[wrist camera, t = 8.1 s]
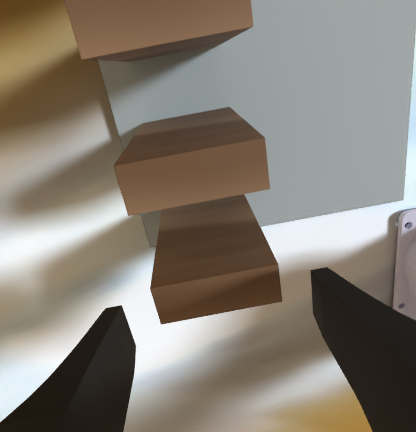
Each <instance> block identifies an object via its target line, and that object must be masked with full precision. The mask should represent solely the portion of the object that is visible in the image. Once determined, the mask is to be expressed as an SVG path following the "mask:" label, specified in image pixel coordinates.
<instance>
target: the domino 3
mask: <svg viewBox="0 0 416 432" xmlns="http://www.w3.org/2000/svg"><path fill="white" fill-rule="evenodd" d="M150 289H151V293H152V296H153V299H154V302H155V306H156V309H157V312H158V316H159V319H160V322H161V324H166V323H171V322H177V321H182V320H187V319H192V318H198V317H203V316H208V315H213V314H219V313H224V312H229V311H234V310H240V309H245V308H250V307H255V306H261V305H266V304H271V303H276V302H282V295H281V286H280V277H279V268H278V263H277V261H276V259H275V257H274V255H273V253H272V251H271V249H270V246H269V244H268V242H267V240H266V238H265V236H264V234H263V232H262V230H261V228H260V226H259V224H258V222H257V220H256V217H255V215H254V213H253V211H252V209H251V207H250V205H249V203H248V201H247V199H246V197H245V195H244V194H242V195H237V196H231V197H226V198H221V199H215V200H210V201H205V202H199V203H194V204H189V205H183V206H178V207H173V208H167V209H162V210H161V217H160V224H159V231H158V238H157V245H156V252H155V259H154V266H153V273H152V280H151V287H150Z"/></svg>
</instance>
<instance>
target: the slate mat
mask: <svg viewBox="0 0 416 432" xmlns="http://www.w3.org/2000/svg"><path fill="white" fill-rule="evenodd" d="M251 6H252V16H253V26H254V27H252V28H250V29H248V30H246V31H244V32H242V33H241V34H239V35H237V36H235V37H233V38H231V39H230V40H228V41H226V42H224V43H222V44H219V45H214V46H209V47H204V48H199V49H193V50H188V51H183V52H178V53H172V54H167V55H162V56H157V57H151V58H146V59H141V60H136V61H130V62H119V61H102V60H98V63H99V66H100V70H101V73H102V77H103V80H104V84H105V88H106V91H107V95H108V98H109V102H110V105H111V109H112V112H113V116H114V120H115V123H116V127H117V130H118V134H119V137H120V141H121V145H122V148H123V152H124V150H125V149H126V147H127V146H128V144H129V143H130V141H131V140H132V138H133V137H134V135H135V134H136V132H137V131H138V129H139V128H140V127H141V125H142V124H143V123H146V122H151V121H157V120H162V119H167V118H172V117H178V116H183V115H188V114H193V113H199V112H204V111H209V110H215V109H220V108H225V107H230V108H232V109H233V110H234V111H235V112H236V113H237V114H238V115H240V116H241V117H242V118H243V119H244V120H245V121H246V122H248V123H249V124H250V125H251V126H252V127H253V128H255V129H256V130H257V131H258V132H259V133H260V134H261V135H263V136H264V137H265V143H266V153H267V162H268V172H269V182H270V189H269V190H263V191H258V192H253V193H247V194H244V195H245V197H246V199H247V201H248V203H249V205H250V207H251V209H252V211H253V213H254V215H255V217H256V220H257V222H258V224H259V226H260V227H262V226H267V225H273V224H278V223H283V222H289V221H294V220H299V219H305V218H310V217H315V216H321V215H326V214H332V213H337V212H342V211H348V210H353V209H358V208H364V207H369V206H374V205H380V204H385V203H390V202H396V201H401V200H403V197H404V183H405V170H406V156H407V142H408V128H409V115H410V101H411V87H412V73H413V60H414V46H415V32H416V0H251ZM141 216H142V219H143V223H144V226H145V230H146V234H147V237H148V241H149V244H150V247H155V246H156V245H157V238H158V231H159V224H160V217H161V210H157V211H151V212H146V213H141Z"/></svg>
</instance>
